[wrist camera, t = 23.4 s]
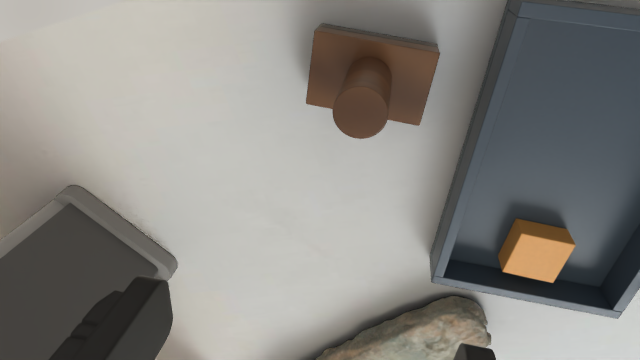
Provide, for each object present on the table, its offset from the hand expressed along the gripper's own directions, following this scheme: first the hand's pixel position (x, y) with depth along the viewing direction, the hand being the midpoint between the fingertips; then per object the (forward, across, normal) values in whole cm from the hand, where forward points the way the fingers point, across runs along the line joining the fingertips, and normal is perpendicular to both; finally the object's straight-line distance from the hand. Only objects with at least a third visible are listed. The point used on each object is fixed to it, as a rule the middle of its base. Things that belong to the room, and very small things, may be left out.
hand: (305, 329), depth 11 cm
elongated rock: (+22, -3, +33) cm, 40 cm away
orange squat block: (+21, -15, +11) cm, 28 cm away
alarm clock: (+22, +27, +25) cm, 43 cm away
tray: (+22, -15, +4) cm, 27 cm away
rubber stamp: (+22, 0, -1) cm, 22 cm away
